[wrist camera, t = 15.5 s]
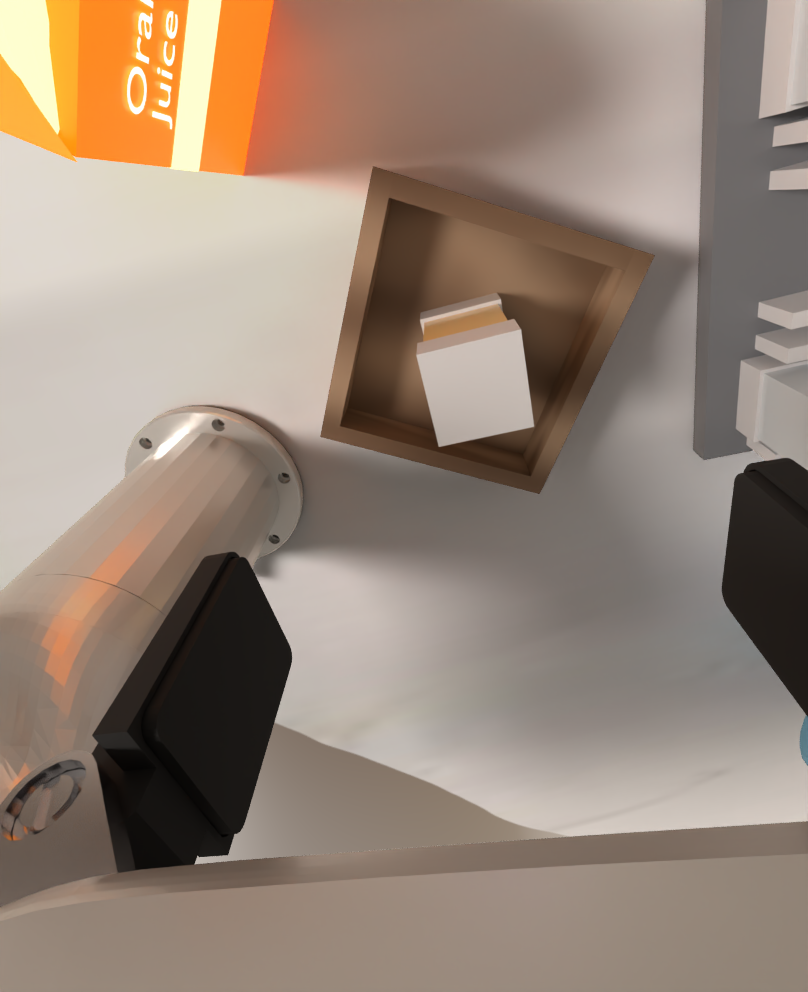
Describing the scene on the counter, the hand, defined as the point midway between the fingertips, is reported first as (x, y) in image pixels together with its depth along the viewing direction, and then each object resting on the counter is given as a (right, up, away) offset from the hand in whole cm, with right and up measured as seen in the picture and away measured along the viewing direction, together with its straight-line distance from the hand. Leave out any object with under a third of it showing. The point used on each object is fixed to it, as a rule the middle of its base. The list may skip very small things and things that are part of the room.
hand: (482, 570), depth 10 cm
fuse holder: (+19, +15, +17) cm, 29 cm away
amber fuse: (+2, +11, +20) cm, 22 cm away
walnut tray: (+2, +11, +21) cm, 23 cm away
